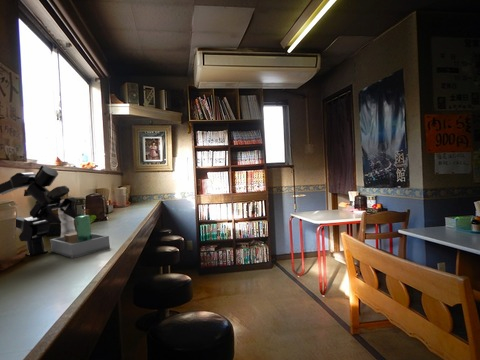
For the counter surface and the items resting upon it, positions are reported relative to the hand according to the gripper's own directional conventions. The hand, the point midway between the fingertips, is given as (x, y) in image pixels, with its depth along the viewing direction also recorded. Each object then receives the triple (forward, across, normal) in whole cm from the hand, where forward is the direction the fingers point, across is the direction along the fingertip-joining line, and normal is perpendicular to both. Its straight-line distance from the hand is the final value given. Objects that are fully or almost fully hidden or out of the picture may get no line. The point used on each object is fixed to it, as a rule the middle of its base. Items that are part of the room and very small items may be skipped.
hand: (69, 220), depth 115 cm
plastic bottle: (-4, +19, +22) cm, 29 cm away
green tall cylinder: (+12, 0, +4) cm, 13 cm away
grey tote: (+10, +3, +8) cm, 13 cm away
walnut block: (+5, +6, +11) cm, 14 cm away
